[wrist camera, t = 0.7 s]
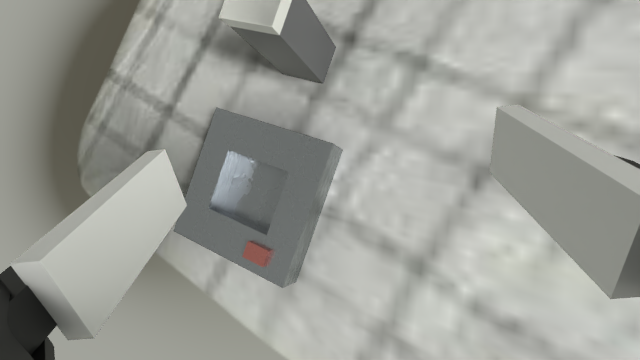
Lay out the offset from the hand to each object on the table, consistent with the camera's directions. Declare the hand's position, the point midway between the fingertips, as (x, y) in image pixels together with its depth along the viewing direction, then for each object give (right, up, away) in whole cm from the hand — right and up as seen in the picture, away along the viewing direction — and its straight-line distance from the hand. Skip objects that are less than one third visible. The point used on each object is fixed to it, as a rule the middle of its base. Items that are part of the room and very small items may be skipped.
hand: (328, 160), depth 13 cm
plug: (-2, +12, +22) cm, 25 cm away
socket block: (-7, -2, +22) cm, 23 cm away
